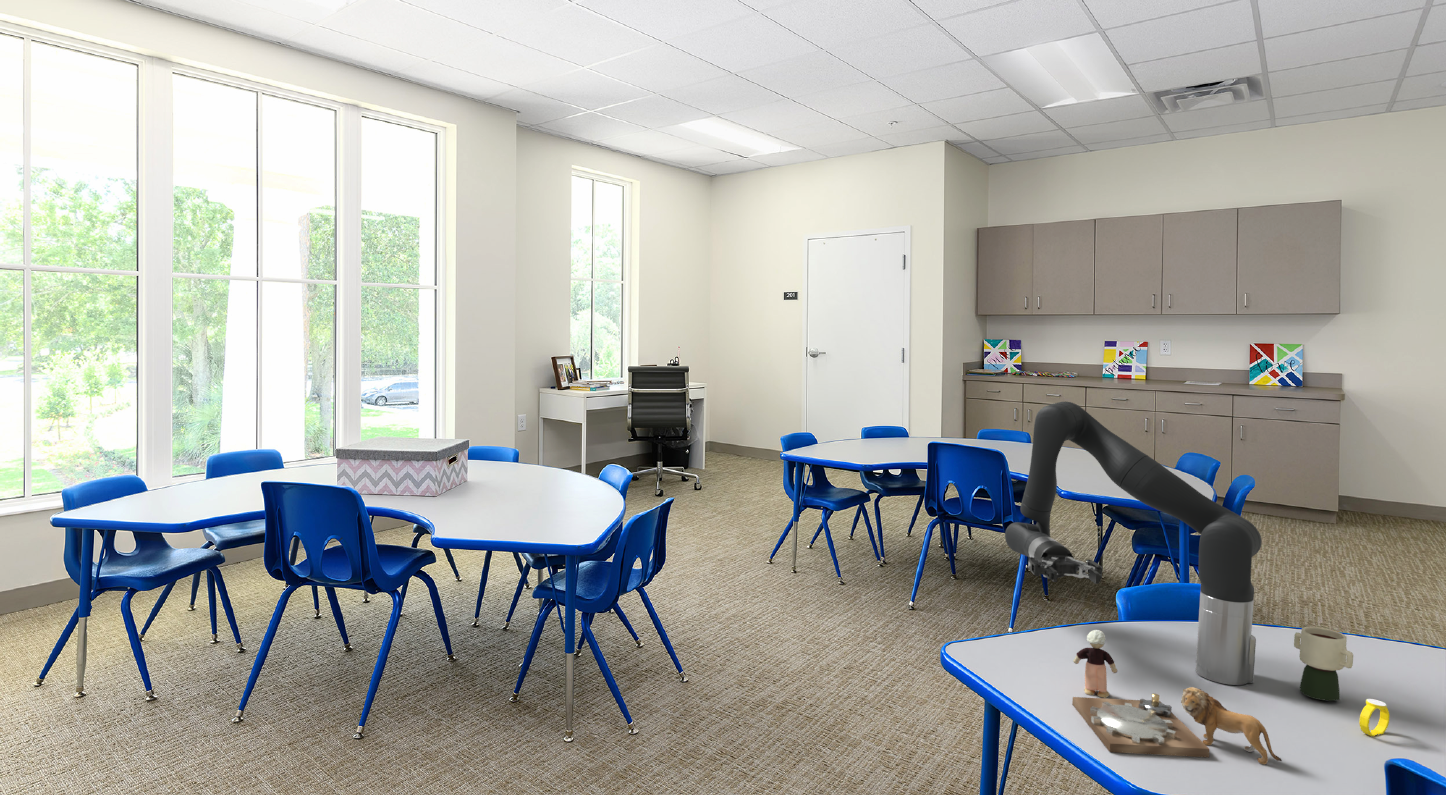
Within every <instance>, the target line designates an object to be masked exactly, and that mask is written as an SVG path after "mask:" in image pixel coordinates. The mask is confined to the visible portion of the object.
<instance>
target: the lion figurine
mask: <svg viewBox="0 0 1446 795" xmlns="http://www.w3.org/2000/svg"><path fill="white" fill-rule="evenodd" d="M1182 690H1183V691H1182V696H1181V700H1180V703H1181V706H1182V708H1183V710H1184V711H1185V713H1187V714H1189V716H1190V717H1192V718H1193V720H1194V722H1196V723H1197V724H1200V725H1203V726H1204V728H1205V733H1204V734H1202V735H1203V738H1204V739H1203V740H1202V742H1203V743H1204V744H1205V745H1206V746H1212V745H1213V743H1214V741H1215V740H1214V734H1215V732H1216V730H1217V729H1218V730H1221V731H1223V732H1226V733H1228V734H1229V733H1230V734H1242V733H1243V734H1244V736H1245V738H1246V740H1247V742H1248V743H1249V745H1250V746H1248V745H1246V746H1244V748H1243V749H1244V750H1245V751H1247V752H1248V753H1253V752H1254V751H1255V750H1256V751H1257V752H1258V754H1260V755H1261V757H1258V758H1257V762H1258V763H1259V764H1260V765H1267V764H1268V761H1269V756H1268V752H1269V754H1270V756H1271V757H1272V759H1273V760H1275V761H1278V762H1282V761H1283V759H1282V758H1281V757H1279V756H1278V755H1276V753H1274V751H1273V750H1272V746H1271V740H1270V738H1269V735H1268V731H1267V729H1266V728H1265V726H1264V725H1263V724H1262V722H1261V721H1260V720H1259V719H1257V718H1256V717H1255V716H1253V715H1249V714H1244V713H1238V712H1235V711H1231V710H1228V709H1227V708H1225V707H1224V706H1223V705H1222V703H1221V702H1220V700H1218V699H1216V698H1214V697H1213V696H1211V695H1210V694H1209V693H1208V692H1205V691H1204V690H1202V689H1200V688H1197V687H1192V686H1191V687H1187V688H1185V689H1184V688H1183V689H1182ZM1261 734H1263V738H1264V742H1265V744H1266V748H1267V750H1268V751H1267V750H1266V748H1265V747H1264V746H1263V744H1262V742H1261V739H1260V736H1261Z"/></svg>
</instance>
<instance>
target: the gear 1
mask: <svg viewBox="0 0 1446 795" xmlns="http://www.w3.org/2000/svg"><path fill="white" fill-rule="evenodd" d="M1090 714H1093V715H1096V716H1091V722H1092V723H1093V724H1095V725H1102V726H1103V727H1104V728H1106V733H1107V734H1109V735H1111V736H1113V735H1116V734H1117V735H1120V736H1123V737H1126V738H1130V739H1131V740H1132V742H1133V743H1138V744H1139V742H1140V741H1154V742H1155V743H1157V744H1158V745H1161V744H1164V738H1165V737H1168V738H1171V739H1175V735H1176V731H1173V730H1170V729H1168V728H1172V729H1173V723H1172V722H1171V721H1170V720H1162V719H1161V718H1160V717H1158V716H1157V715H1156V711H1154V710H1151V709H1149V710H1147V711H1146V710H1143V709H1140V708H1136V707H1132V704H1130V703H1125V705H1112V704H1110V703H1109V702H1102V707H1101V708H1097V707H1093V706H1092V707H1091V708H1090Z"/></svg>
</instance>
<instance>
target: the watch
mask: <svg viewBox="0 0 1446 795" xmlns="http://www.w3.org/2000/svg"><path fill="white" fill-rule="evenodd" d="M1365 704H1366V705H1365V706H1364V707H1363V708H1362V710H1361V712H1360V715H1359V720H1358V722H1359V728H1360V731H1361V732H1362V733H1363V734H1364V733H1365V734H1364V735H1366V734H1368V735H1367V736H1369V735H1370V736H1369V737H1371V736H1373V737H1376V736H1375V735H1377V734H1378V735H1377V736H1380V735H1379V734H1381V735H1382V734H1383V735H1384V733H1386V731H1387V729H1388V727H1389V724H1390V718H1391V717H1390V711H1389V708H1388V706H1387V704H1386V703H1385V702H1384V701H1380V700H1377V699H1375V698H1374V699H1373V698H1367V699H1365ZM1377 709H1378V710H1379V720H1378V722H1377V725H1376V726H1375V727H1374V729H1370V719H1371V717H1372V714H1373V713H1374V711H1376V710H1377ZM1370 731H1371V732H1370Z"/></svg>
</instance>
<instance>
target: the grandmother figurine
mask: <svg viewBox="0 0 1446 795" xmlns="http://www.w3.org/2000/svg"><path fill="white" fill-rule="evenodd" d="M1086 641H1087V642H1088V643H1089V645H1090V646H1091V647H1084V648H1081V649H1080V650H1079V651H1078V652H1076V656H1074V657H1075V658H1074V659H1073V661H1072V662H1073V664H1075V665H1077V664H1079V663H1080V661H1081V660H1086V662H1085V669H1084V689H1083V691H1084V693H1085V694H1086V695H1088V696H1094V695H1096V694H1095V693H1096V691H1098V692H1097V697H1098V698H1105V699H1107V697H1109V696H1110V692H1109V691H1108V689H1107V688H1108V684H1107V683H1108V681H1107V680H1108V679H1107V678H1108V677H1107V666H1106V663H1107V664H1108V666H1109V667H1110V669H1111V672H1112V673H1113V674H1115V673H1118V669H1117V667H1116V664H1115V660H1114V659H1113V657H1112V656H1111V655H1110V653H1108V651H1107V650H1104V649H1102V648H1103V647H1104V645H1105V644H1106V636H1105V633H1104V632H1103V631H1101V630H1099V629H1093V630H1091V631H1089V633H1088V634H1086Z"/></svg>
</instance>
